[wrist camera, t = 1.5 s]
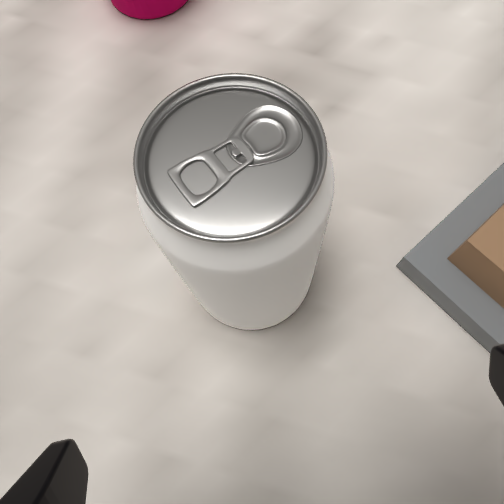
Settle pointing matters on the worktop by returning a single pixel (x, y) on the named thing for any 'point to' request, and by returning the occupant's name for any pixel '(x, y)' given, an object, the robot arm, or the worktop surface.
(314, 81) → the worktop surface
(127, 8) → the pepper mill
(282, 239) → the can
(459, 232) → the plinth
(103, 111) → the worktop surface
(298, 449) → the worktop surface
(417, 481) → the worktop surface
